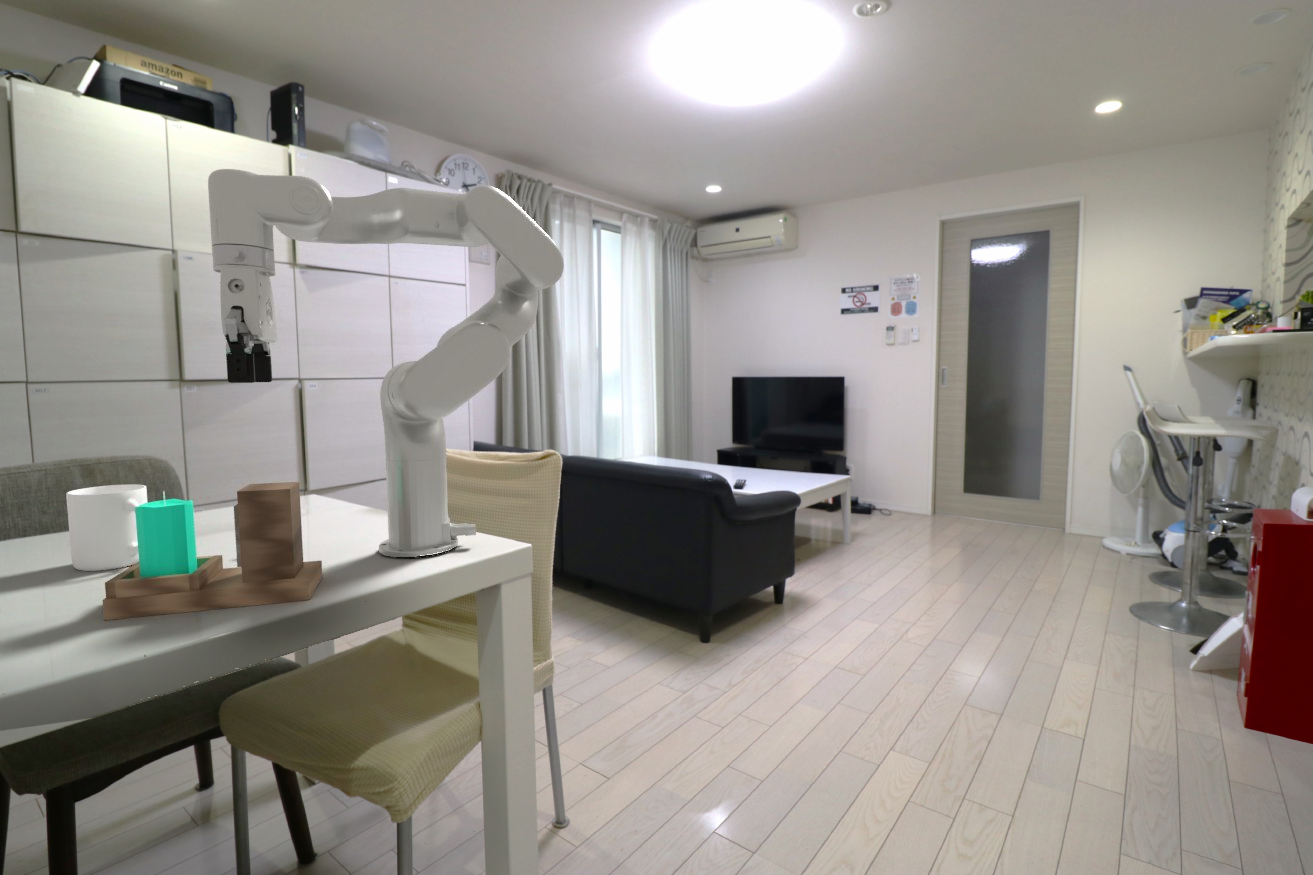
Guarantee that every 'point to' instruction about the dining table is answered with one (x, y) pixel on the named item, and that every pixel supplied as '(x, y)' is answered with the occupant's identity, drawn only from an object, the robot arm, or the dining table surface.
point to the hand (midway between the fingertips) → (251, 382)
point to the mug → (104, 526)
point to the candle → (166, 538)
